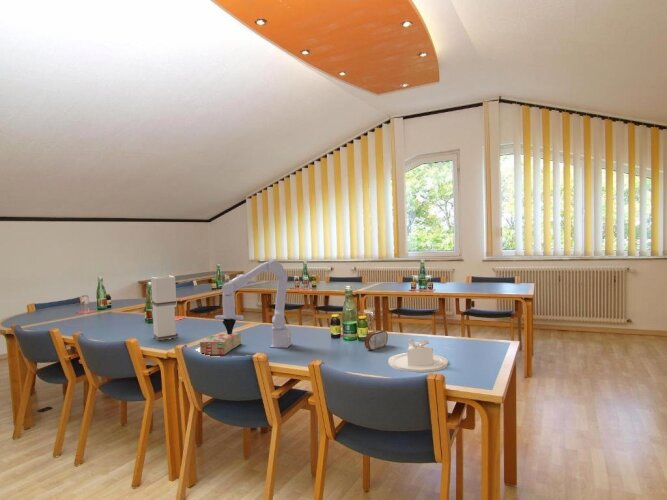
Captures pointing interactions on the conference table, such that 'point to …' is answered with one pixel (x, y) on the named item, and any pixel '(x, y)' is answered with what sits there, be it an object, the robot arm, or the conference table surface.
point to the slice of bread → (376, 339)
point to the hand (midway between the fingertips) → (229, 334)
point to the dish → (418, 358)
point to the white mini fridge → (164, 307)
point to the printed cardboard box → (220, 343)
